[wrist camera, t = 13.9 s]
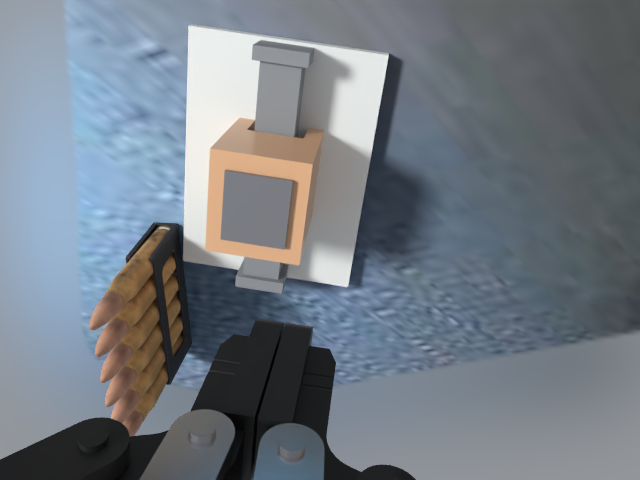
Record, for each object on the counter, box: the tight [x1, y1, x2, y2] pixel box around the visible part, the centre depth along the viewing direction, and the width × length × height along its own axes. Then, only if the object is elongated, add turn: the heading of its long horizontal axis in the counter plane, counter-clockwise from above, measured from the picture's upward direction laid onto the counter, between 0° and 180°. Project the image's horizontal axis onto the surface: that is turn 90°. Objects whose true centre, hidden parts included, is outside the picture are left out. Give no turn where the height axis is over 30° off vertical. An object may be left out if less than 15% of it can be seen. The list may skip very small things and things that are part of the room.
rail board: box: [183, 24, 389, 294], centre depth 36 cm, size 12×16×4 cm
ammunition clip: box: [90, 223, 192, 437], centre depth 37 cm, size 11×2×12 cm, turn 0°
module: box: [205, 118, 324, 265], centre depth 33 cm, size 5×6×7 cm
